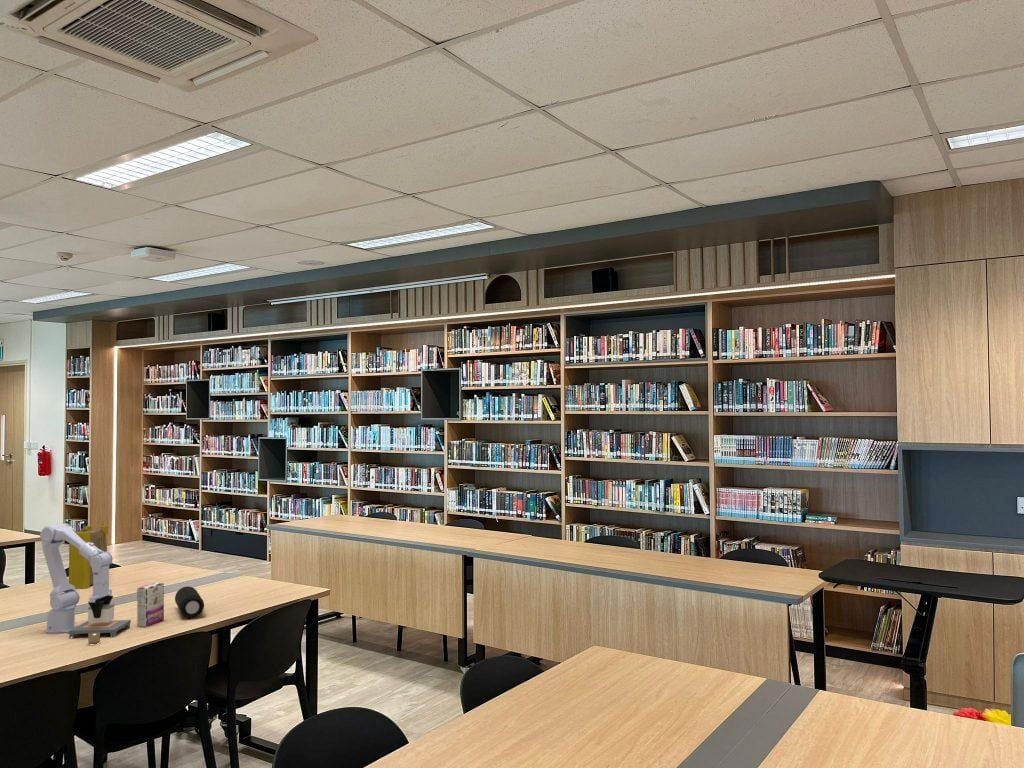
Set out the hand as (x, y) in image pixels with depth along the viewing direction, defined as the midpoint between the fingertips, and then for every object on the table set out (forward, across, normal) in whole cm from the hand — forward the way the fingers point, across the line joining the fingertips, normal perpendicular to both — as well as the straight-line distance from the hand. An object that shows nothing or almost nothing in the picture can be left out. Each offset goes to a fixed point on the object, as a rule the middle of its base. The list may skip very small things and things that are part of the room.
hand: (100, 616), depth 301 cm
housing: (+2, 0, 0) cm, 2 cm away
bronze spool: (+7, -15, -5) cm, 17 cm away
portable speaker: (+7, +28, -25) cm, 38 cm away
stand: (+7, 0, 0) cm, 7 cm away
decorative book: (+7, +93, +52) cm, 107 cm away
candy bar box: (+7, +12, -15) cm, 20 cm away
